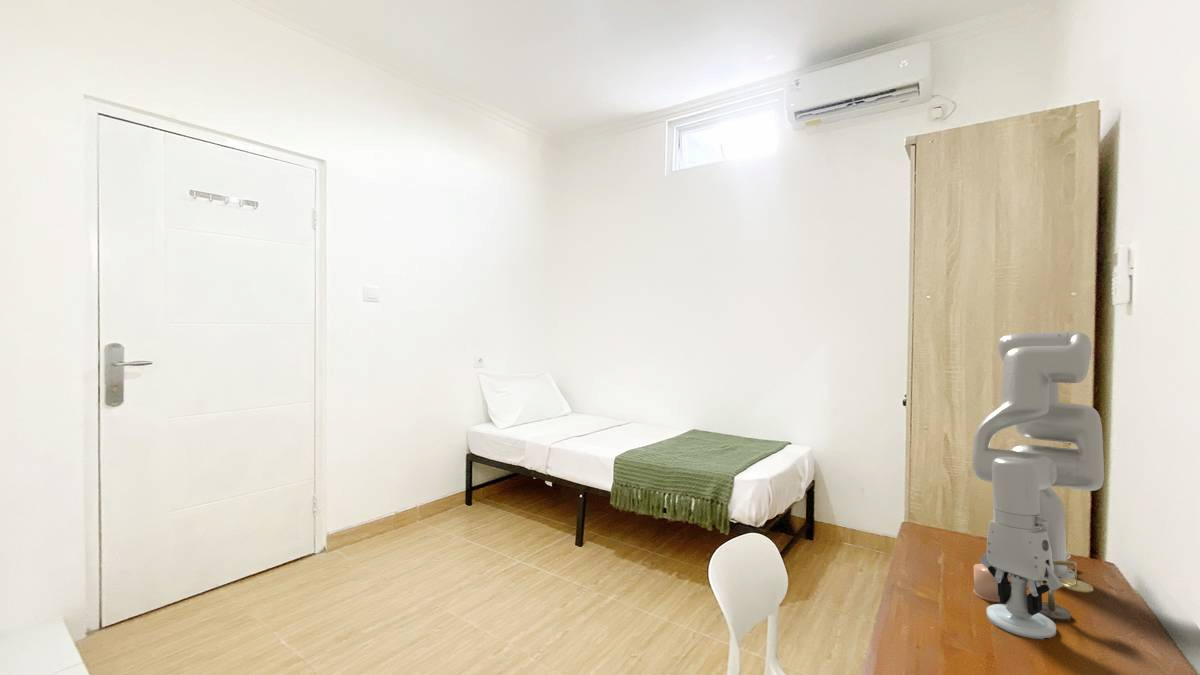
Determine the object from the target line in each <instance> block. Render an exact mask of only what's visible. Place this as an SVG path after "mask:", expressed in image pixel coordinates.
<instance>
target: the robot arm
mask: <svg viewBox="0 0 1200 675" xmlns="http://www.w3.org/2000/svg"><path fill="white" fill-rule="evenodd" d="M997 344H998V345H997V348H998V353H999V355H1000V359H1001V360H1002V362H1003V364H1002V375H1001V376H1002V379H1001V380H1002V381H1001V393H1000V394H1001V395H1000V405H999V407H998V408H996V409H995V410H993V411H992V412H991V413H989V414H988V415H987V416H985V418H984V419H983V420H982V421H981V423H980V424H979V425H978V427H977V428H976V430H975V433H974V437H973V444H972V454H971V456H972V457H971V467H972V472H973V474H974V475H975V476H976V477H977V479H979V480H981V481H983V482H987V483H988V482H989V483H992V486H991V487H992V504H993V505H992V506H993V507H992V508H993V510H992V511H993V518H992V519H991V520H990V522H989V525H988V526H989V527H988V530H987V535H986V536H987V538H986V551H985V552H984V553H983V555H981V557H980V558H979V559H978V561H979V562H980V564H983V565H984V566H985V567H986V568H988V570H989V572H990V573H991V574H992V575H993V577H994V579H995V581H996V582H997V583H998V596H1000V603H999V604H1006V603H1007V600H1009V598H1010V596H1011V590H1012V587H1011V585H1010V584H1011V583H1012V581H1011V580H1010V581H1009V576H1010V575H1011V574H1014V575H1017V576H1020V577H1023V578H1026V579H1027V581H1028V585H1027V586H1028V589H1029V593H1027V599H1028V613H1029V614H1030V615H1035V614H1037V613H1039V612H1040V611H1042V602H1043V594H1045V593H1047V591H1050V590H1055V591H1056V590H1058V589H1061V588H1064V587H1063V585H1062V583H1061V582H1060V579H1074V580H1075V570H1074V571H1073V569H1072V568H1069V566H1064V565H1054V567H1053V560H1060V561H1068V560H1069V559H1071V557H1072V555H1071V553H1070V552H1069V551H1067V539H1066V538H1067V537H1066V517H1065V516H1066V514H1065V505H1064V501H1063V499H1061V497H1060V496H1059V495H1058V493H1056V492H1055V490H1054V489H1053V488H1052V487H1056V488H1057V487H1058V488H1066V489H1072V490H1080V491H1090V492H1091V491H1092V492H1093V491H1097V490H1101V488H1102V487H1103V485H1104V482H1105V481H1104V480H1105V461H1104V460H1105V459H1104V440H1103V426H1102V424H1103V423H1102V420H1101V416H1100V414H1099V412H1098V410H1096V409H1095V408H1094V407H1092V406H1090V405H1087V404H1081V403H1063V402H1062V403H1061V402H1060V401H1059V400H1060V399H1059V383H1062V384H1064V383H1065V384H1078V383H1082V382H1083V381H1084V380H1085V379H1086V377H1087V375H1088V374H1089V369H1090V363H1091V359H1092V358H1091V357H1092V353H1093V352H1092V350H1093V349H1092V348H1093V347H1092V342H1091V339H1090V338H1089V337H1088V335H1086V334H1085V333H1084V332H1080V331H1054V332H1053V331H1052V332H1050V331H1049V332H1046V331H1045V332H1043V331H1042V332H1038V331H1037V332H1017V333H1010V334H1006V335H1004V336H1002V337H1000V338H999V340H998V343H997ZM1014 426H1015V428H1016V431H1017V433H1018V435H1020V436H1022V437H1023V438H1027V439H1032V440H1038V441H1045V442H1046V441H1048V442H1059V443H1070V444H1073V445H1074V446H1076V447H1077V448H1069V447H1068V448H1066V447H1057V446H1048V445H1039V444H1019V445H1016V446H1014V447H1012V448H1011V449H1000V448H992V447H990V446H991V445H990V444H991V441H992V440H993V438H994V437H995V436H996V435H997V434H998V433H1000V432H1001V431H1003V430H1005V429H1007V428H1011V427H1014ZM1047 579H1048V581H1049V583H1047ZM1044 582H1046V583H1044Z"/></svg>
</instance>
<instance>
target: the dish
mask: <svg viewBox="0 0 1200 675" xmlns="http://www.w3.org/2000/svg"><path fill="white" fill-rule="evenodd" d="M1006 606H1008V605H1007V604H1006V603H1005V604H1003V603H996V604H991V605H989V606H988V607H986V617H987V620H989V622H990V623H991V624H993V625H994V626H996V627H998V628H1000V629H1002V630H1003V631H1005V632H1008V633H1011V634H1013V635H1016V636H1020V637H1024V638H1029V639H1036V640H1045V639H1044V638H1049V639H1051V638H1050V637H1053V636H1054V635H1055V634H1056V635H1057V625H1056V623H1055V622H1054V620H1051V619H1049V618H1048V617H1046V616H1044V615H1042V614H1040V613H1037V614H1035V615H1033V616H1032V617H1031V618H1022V617H1018V616H1015V615H1013V614H1011V613H1010V612H1009V611H1008V610H1007V609H1006ZM1056 635H1055V636H1056ZM1055 636H1054V637H1055ZM1054 637H1053V638H1054Z"/></svg>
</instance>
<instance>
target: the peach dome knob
mask: <svg viewBox="0 0 1200 675" xmlns="http://www.w3.org/2000/svg"><path fill="white" fill-rule="evenodd" d="M973 585H974V587H973V590H972V592H973V594H974V595H975V596H977V598H980V599H983V600H985V601H988V602H991V603H996V604H1001V603H1000V596H998V583H997V582H996V581H995V579H994V577H993V575H992V574H991V573H990V572H989V570H988V568H986V567H985V566H984V565H983V564H982V563H975V564H973Z"/></svg>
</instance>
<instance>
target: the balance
mask: <svg viewBox="0 0 1200 675" xmlns="http://www.w3.org/2000/svg"><path fill="white" fill-rule="evenodd" d="M1054 565H1064V566H1067V567H1074V568H1073V569H1074V572H1075V580H1074V579H1060V582H1061V583H1062V585H1063V587H1062V588H1065V589H1067V590H1071V591H1074V592H1079V593H1087V594H1088V593H1092V592H1093V591H1094V587H1093V586H1092V584H1089V583H1087V582H1085V581H1082V580H1080V579H1079V580H1078V577H1077V576H1078V575H1077V573H1078V572H1077V566H1078V564H1077V561H1069V560H1067V561H1060V560H1053V567H1054ZM1046 583H1049V581H1048V579H1047V581H1046ZM1026 586H1029V585H1028V583H1027V584H1026ZM1046 593H1047V594H1046V595H1047V598H1046V599H1047V602H1046V601H1042V611H1040V612H1039V613H1040V614H1042V615H1044V616H1046V617H1048V618H1050V620H1051V619H1054V620H1053V621H1055V620H1058V621H1057V622H1069V620H1070V621H1071V620H1072V614H1071V611H1070V610H1068V609H1067V608H1065V607H1063V606H1061V605H1059V604H1056V598H1055V597H1056V594H1055V593H1056V589H1055V590H1050V591H1047V592H1046Z"/></svg>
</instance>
